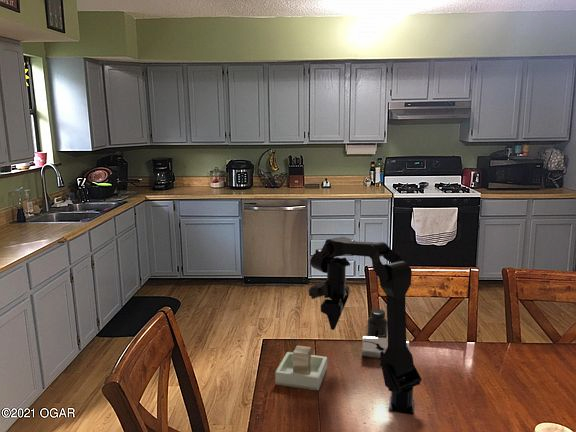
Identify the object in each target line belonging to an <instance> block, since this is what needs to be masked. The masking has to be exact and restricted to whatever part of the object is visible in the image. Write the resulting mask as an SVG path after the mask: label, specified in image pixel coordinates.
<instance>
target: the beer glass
mask: <svg viewBox="0 0 576 432" xmlns="http://www.w3.org/2000/svg"><path fill="white" fill-rule="evenodd" d="M406 343H407V348H408V349H409V350H410V340H407V339H406ZM387 347H388V337H387V338H384V337H380V336H367V334H366V335H364V334H363V335H362V344H361V356H364V357H367V358H374V359H375V358H377V359H381V357H380V353H381V351H384V350H386V349H387Z"/></svg>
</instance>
